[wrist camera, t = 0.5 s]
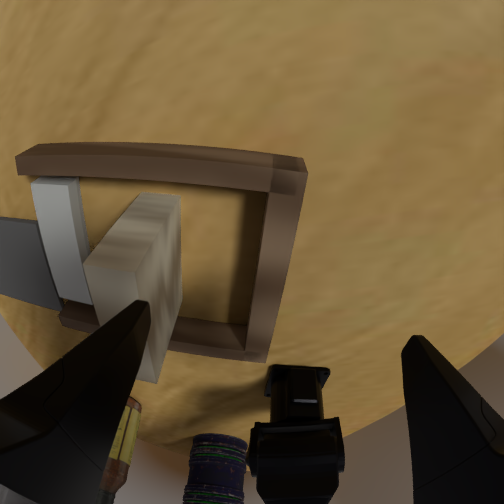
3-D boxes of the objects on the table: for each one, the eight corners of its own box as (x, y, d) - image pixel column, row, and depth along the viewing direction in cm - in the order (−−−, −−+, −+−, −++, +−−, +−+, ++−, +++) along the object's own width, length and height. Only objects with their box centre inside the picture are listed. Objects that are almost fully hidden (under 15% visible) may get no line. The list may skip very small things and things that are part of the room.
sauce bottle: (99, 393, 40) (63, 503, 24) (118, 386, 38) (80, 510, 21) (131, 413, 43) (103, 519, 26) (153, 408, 40) (125, 526, 24)
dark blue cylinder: (181, 438, 47) (168, 511, 35) (215, 428, 43) (204, 514, 30) (224, 454, 50) (216, 522, 38) (260, 445, 46) (255, 522, 34)
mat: (65, 308, 29) (63, 312, 29) (2, 290, 29) (0, 293, 29) (39, 220, 23) (35, 224, 23) (-25, 213, 23) (-29, 216, 22)
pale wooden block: (182, 299, 27) (157, 383, 20) (151, 294, 27) (118, 374, 20) (180, 195, 21) (134, 272, 14) (141, 191, 21) (82, 264, 14)
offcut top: (97, 296, 27) (92, 305, 26) (64, 289, 27) (59, 296, 26) (75, 179, 20) (67, 185, 19) (39, 177, 20) (30, 183, 19)
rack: (266, 338, 29) (265, 363, 27) (74, 306, 29) (62, 325, 26) (303, 158, 19) (308, 173, 17) (38, 144, 19) (15, 156, 17)
